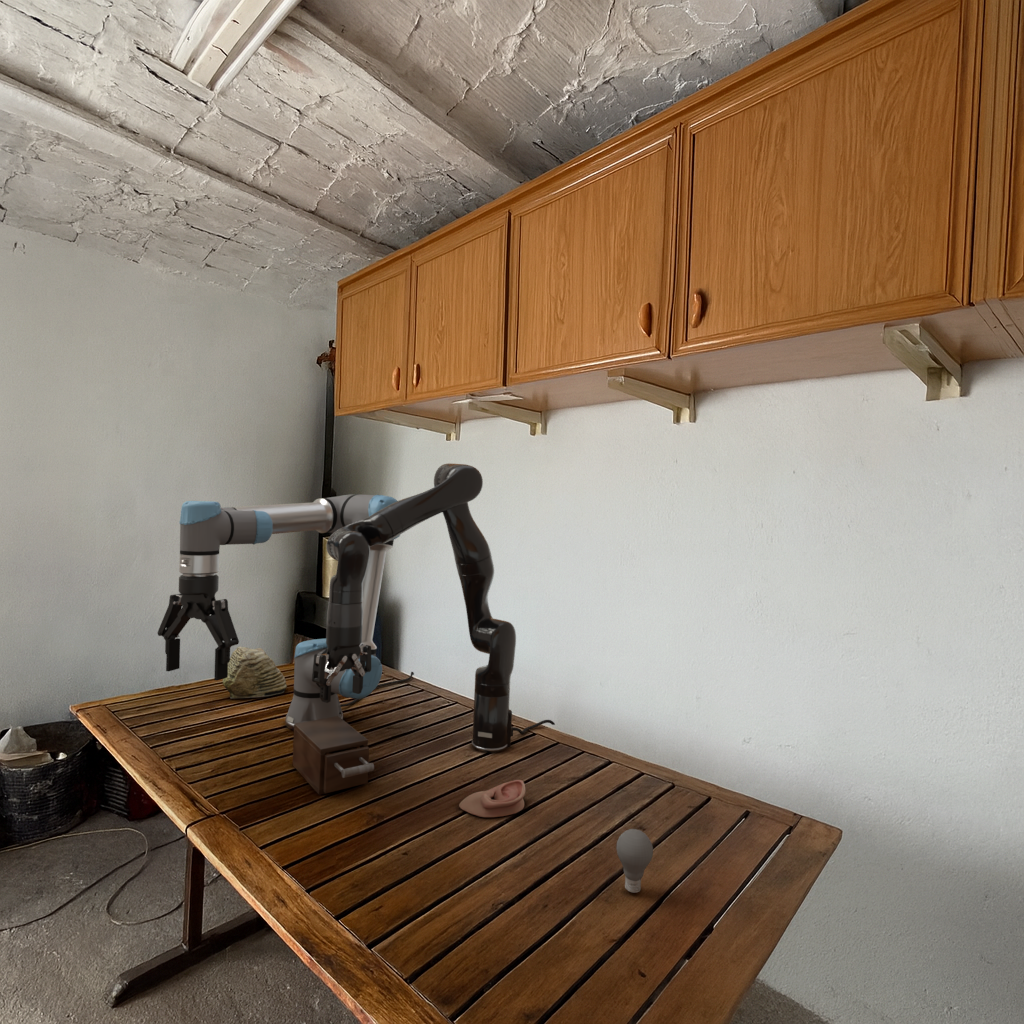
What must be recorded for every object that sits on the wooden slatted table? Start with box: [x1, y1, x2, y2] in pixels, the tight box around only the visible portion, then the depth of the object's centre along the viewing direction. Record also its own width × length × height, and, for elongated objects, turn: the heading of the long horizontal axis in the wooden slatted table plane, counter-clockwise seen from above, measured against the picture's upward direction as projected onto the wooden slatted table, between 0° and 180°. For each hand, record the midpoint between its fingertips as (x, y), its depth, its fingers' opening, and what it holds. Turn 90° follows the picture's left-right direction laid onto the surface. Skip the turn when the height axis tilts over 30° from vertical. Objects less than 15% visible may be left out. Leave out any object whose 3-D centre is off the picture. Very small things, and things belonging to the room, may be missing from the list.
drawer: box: [324, 746, 375, 794], centre depth 140 cm, size 22×10×8 cm, turn 37°
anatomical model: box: [458, 779, 527, 818], centre depth 133 cm, size 13×4×12 cm
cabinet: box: [292, 716, 369, 796], centre depth 145 cm, size 18×11×10 cm, turn 37°
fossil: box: [222, 646, 288, 699], centre depth 198 cm, size 9×18×15 cm, turn 132°
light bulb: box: [615, 828, 654, 894], centre depth 106 cm, size 6×6×10 cm
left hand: (196, 674), depth 134 cm, fingers open, 13 cm apart
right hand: (341, 697), depth 137 cm, fingers open, 8 cm apart
